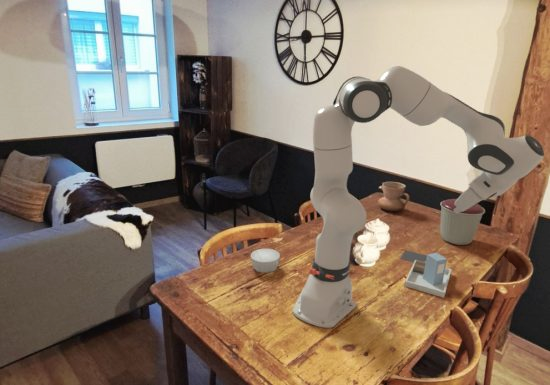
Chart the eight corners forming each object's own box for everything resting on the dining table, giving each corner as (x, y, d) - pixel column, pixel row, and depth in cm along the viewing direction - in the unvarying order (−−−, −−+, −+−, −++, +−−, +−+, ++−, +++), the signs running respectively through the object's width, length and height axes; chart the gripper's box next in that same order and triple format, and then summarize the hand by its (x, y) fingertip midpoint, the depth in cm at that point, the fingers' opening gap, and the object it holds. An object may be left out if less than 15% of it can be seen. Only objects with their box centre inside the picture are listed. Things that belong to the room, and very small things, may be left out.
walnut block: (426, 275, 140) (427, 269, 139) (412, 271, 143) (413, 265, 142) (428, 269, 144) (429, 263, 144) (415, 265, 147) (416, 260, 146)
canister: (426, 233, 177) (433, 191, 170) (457, 230, 182) (465, 189, 175) (453, 251, 161) (462, 205, 154) (487, 246, 165) (497, 202, 159)
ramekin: (244, 266, 144) (244, 254, 142) (264, 257, 152) (265, 245, 150) (265, 278, 137) (265, 265, 135) (285, 267, 145) (285, 255, 143)
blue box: (442, 283, 135) (447, 259, 132) (433, 285, 134) (437, 261, 130) (432, 276, 140) (436, 252, 136) (422, 278, 138) (426, 254, 135)
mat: (423, 266, 148) (423, 264, 148) (399, 260, 152) (400, 258, 152) (426, 256, 155) (427, 255, 155) (404, 251, 159) (405, 250, 159)
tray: (443, 299, 127) (445, 292, 126) (404, 287, 133) (405, 281, 132) (450, 275, 142) (451, 269, 141) (414, 265, 148) (415, 259, 147)
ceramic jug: (370, 207, 208) (372, 183, 203) (384, 201, 217) (387, 178, 213) (399, 217, 196) (403, 191, 191) (412, 210, 205) (416, 186, 200)
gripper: (502, 164, 118) (473, 190, 129) (468, 182, 108) (439, 209, 118) (518, 178, 116) (487, 203, 126) (485, 199, 105) (454, 224, 116)
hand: (464, 206), depth 122 cm, fingers open, 8 cm apart
